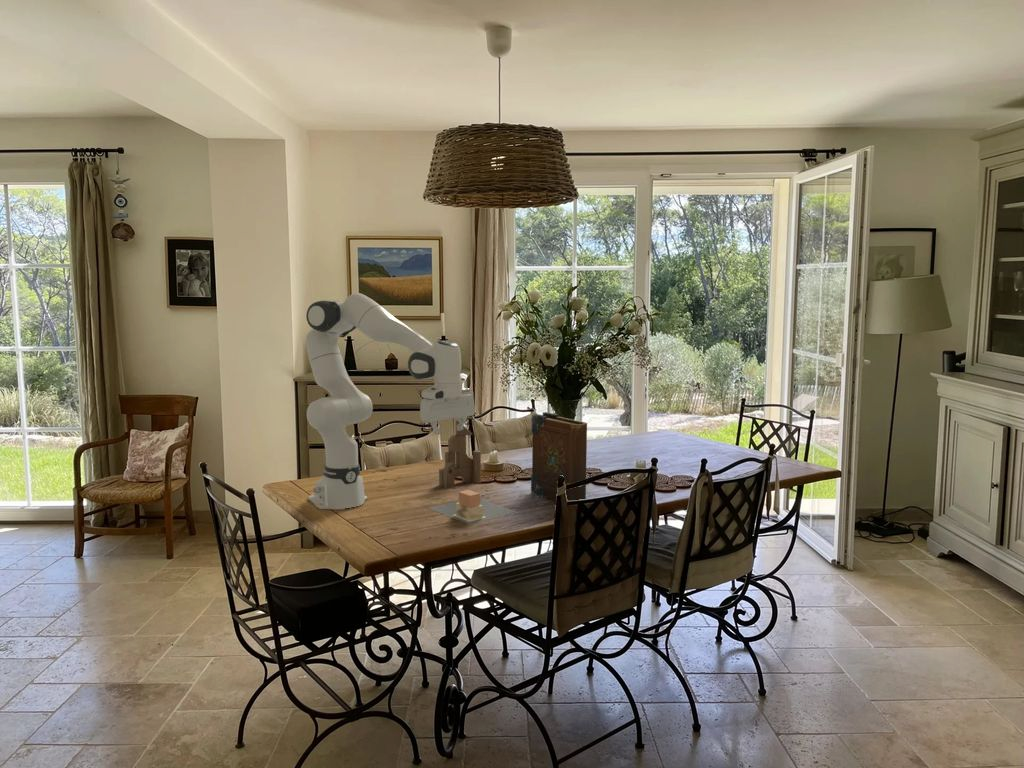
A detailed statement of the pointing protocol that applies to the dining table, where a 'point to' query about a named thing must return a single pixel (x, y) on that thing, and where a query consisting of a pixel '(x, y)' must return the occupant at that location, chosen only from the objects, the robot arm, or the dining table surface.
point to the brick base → (469, 512)
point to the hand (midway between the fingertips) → (448, 432)
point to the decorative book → (558, 455)
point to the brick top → (469, 498)
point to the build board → (488, 513)
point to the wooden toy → (460, 461)
